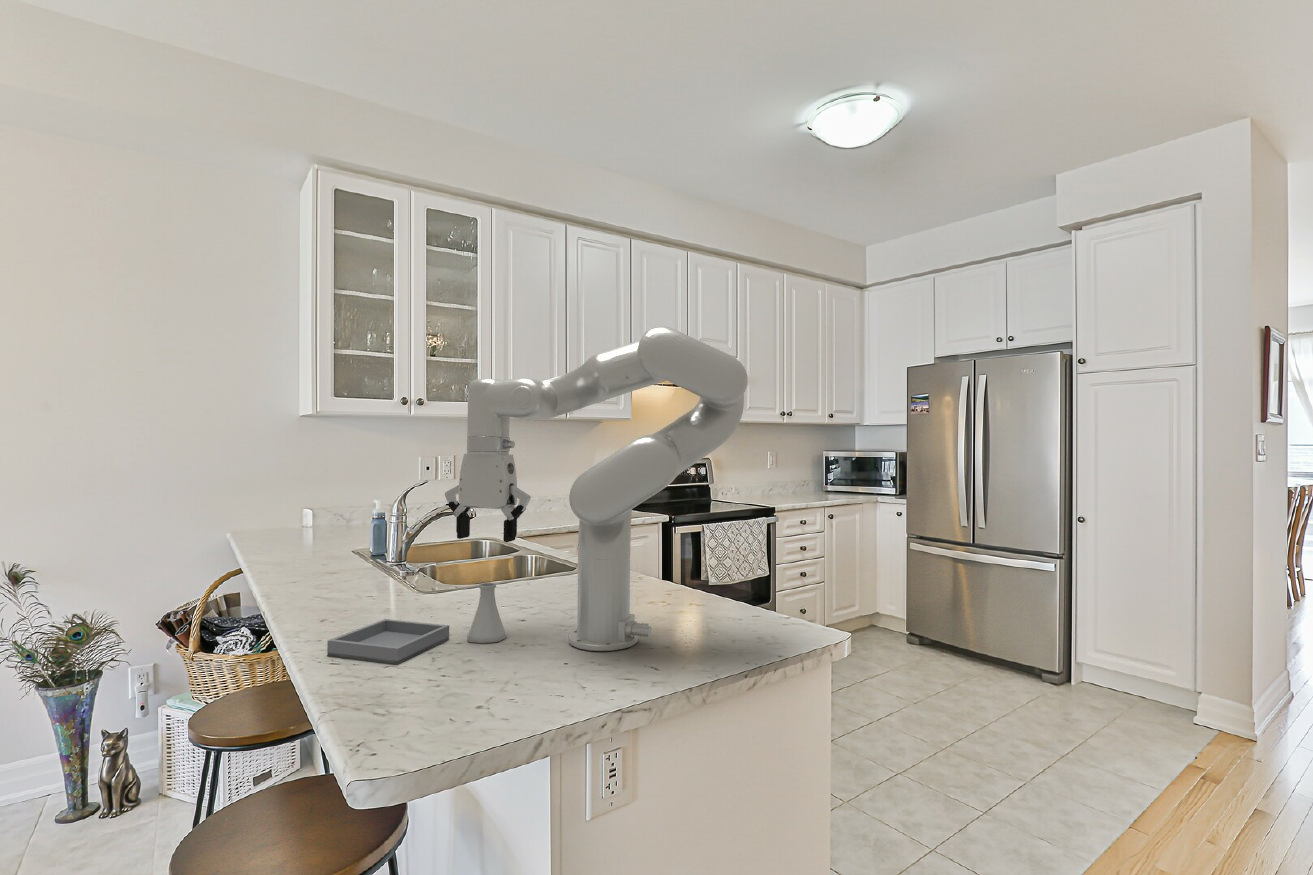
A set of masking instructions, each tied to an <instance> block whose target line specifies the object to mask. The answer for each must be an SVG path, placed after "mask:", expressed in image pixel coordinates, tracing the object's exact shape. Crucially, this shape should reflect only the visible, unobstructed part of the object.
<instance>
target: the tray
mask: <svg viewBox="0 0 1313 875" xmlns="http://www.w3.org/2000/svg"><path fill="white" fill-rule="evenodd" d="M447 641H450V625H448V624H437V623H428V622H421V621H419V622H418V621H409V620H401V619H389V618H383V619H381V620H378V621H376V622H373V623H371V624H368V625H366V626H363V627H360V628H357V629H355V630H352V631H350V632H347V633H345V634H341V635H338V636H336V637H334V638H331V639H328V640H327V642H326V643H327V644H326V645H327V652H326V653H327V655H326V656H327V657H332V658H340V659H348V660H349V659H350V660H356V661H357V660H358V661H365V662H371V663H378V664H379V663H381V664H389V665H396V666H398V665H400V664H402V663H405V662H406V661H408V660H410V659H412V658H415V657H416V656H418V655H420V654H423V653H425V652H427V651H429V650H431V649H433V648H435V647H437V646H439V645H441V644H444V643H445V642H447Z"/></svg>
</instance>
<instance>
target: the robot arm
mask: <svg viewBox="0 0 1313 875" xmlns="http://www.w3.org/2000/svg"><path fill="white" fill-rule="evenodd" d="M748 379H749V378H748V373H747V370H746V368H745V366H744V365H743V364H742V362H740V361H739V359H737V358H736V357H734V356H733V355H731V354H728V353H727V352H724V351H722V350H720V349H718V348H716V347H714V346H711V345H709V344H708V343H707V344H706V343H705V342H703V341H700V340H698V339H696V338H694V337H692V336H689V335H687V334H685V333H683V332H681V331H679V330H678V329H675V328H672V327H668V326H658V327H653V328H651V329H649V330H648V331H646V332H645V333H644V334H643V335H642V336H641V337H640V339H638V340H636V341H635V340H634V341H633V342H630V343H626V344H623V345H620V346H617V347H613V348H610V349H607V350H603V351H601V352H597V353H595V354H593V355H592V356H590V357H588V359H587V360H586V361H585V362H583V364H581V365H580V366H579V367H577V368H575V369H573V370H571V371H569V372H566V373H564V374H561V375H558V376H555V377H552V378H548V379H545V380H537V379H534V378H530V377H519V378H512V379H503V380H501V379H494V378H478V379H477V378H476V379H474V380H471V381H470V383H469V384H468V388H467V419H466V420H467V424H466V426H467V427H466V428H467V429H466V431H467V432H466V453H464V454H463V456H462V461H461V466H460V471H459V481H458V485H456V486H454V487H453V488H450V489H449V490H447V491H445V493H444V497H445V499H446V502H447V503H448V504H447V505H448V508H449V509H450V510H451V512H453V516H454V517H455V518H456V519H455V520H456V525H455V529H456V539H458V540H459V539H460V540H461V539H465V538H469V537H470V535H471V534H470V532H471V531H470V530H471V517H470V515H468V514H469V513H470V511H471V510H472V508H473V509H474V508H475V509H490V510H501V512H502V514H503V515H504V516H505V517H506V519H504V521H503V536H502V537H503V539H502V540H503V542H504V543H509V542H513V541H515V540H516V538H517V534H518V533H517V532H518V519H520V518H521V515H522V514H523V513H524V512H525V511H526V510H527V506H528V505H529V503H530V501H531V498H532V496H531V495H530V494H528V493H527V492H525V491H523V490H522V489H520V488H519V487H518V480H517V470H516V469H517V468H516V464H515V458H514V455H513V454H510V449H514V448H515V445H516V443H515V441H514V440H510V439H511V437H510V420H511V419H510V418H514V419H520V420H525V421H527V420H528V421H535V422H541V421H546V420H549V419H552V418H557V417H559V416H562V415H565V414H569V413H571V412H575V411H578V410H582V409H583V408H587V407H589V406H591V405H596V404H600V403H602V402H605V401H607V400H610V399H613V398H615V397H619V396H622V395H625V394H627V393H628V394H629V393H631V392H634V391H639V390H640V389H644V388H648V387H651V386H653V385H654V386H655V385H657V384H660V383H665V382H669V383H671V384H673V385H675V386H677V387H678V388H679V387H680V388H681V389H682V390H686V391H688V392H690V393H692V394H694V395H696V396H698V397H699V400H698V402H697V403H696V405H695V406H694V407H693V408H691V409H690V410H689V411H687V412H686V413H684V414H683V415H681V416H679V417H678V418H677V419H675V420H673V422H671V423H669V424H667V425H666V426H665V427H663V428H661V429H660V430H658V431H656V432H654V433H653V434H646V435H642V436H640V437H638V438H636V439H634V440H633V441H631V442H629V443H628V444H626V445H624V446H623V447H621V448H620V449H618V450H617V451H615V452H614V453H612V454H610V455H609V456H608V457H606V458H604V459H602V460H600V462H598V463H596V464H595V465H593V466H591V467H590V468H588V469H587V470H585V471H584V472H582V473H581V474H579V475H578V476H577V478H575V480H574V481H573V483H572V485H571V488H570V491H569V494H568V495H569V496H568V500H569V506H570V509H571V511H572V512H573V514H574V515H575V517H577V519H578V520H579V521H578V534H577V535H578V536H577V538H578V539H577V540H578V541H577V605H576V606H577V608H576V609H577V616H576V617H577V619H576V620H577V621H576V622H577V623H576V624H577V626H576V629H574V630H573V631H571V632H570V633H569V634H568V643H569V644H570V645H571V646H572V647H575V648H577V649H580V650H585V651H590V652H591V651H592V652H593V651H595V652H609V651H611V652H612V651H619V650H623V649H627V648H630V647H633V646H635V645H636V643H638V641H639V637H642V638H651V635H652V626H651V625H650V624H649V623H647V622H646V623H645V622H637V620H635V619H636V618H635V614H634V613H630V610H631V608H630V605H631V603H630V602H631V601H630V599H631V598H630V597H631V590H630V589H631V538H632V536H631V534H632V531H631V530H632V510H633V509H634V508H636V507H638V506H639V505H641V504H642V503H644V502H645V501H647V500H648V499H650V498H652V497H653V496H655V495H656V494H658V493H660V492H661V491H662V490H664V489H666V488H667V487H668V486H670V484H672V483H673V482H674V480H675V479H677V477H678V476H679V475H680V474H681V473H683V472H684V471H686V470H687V469H689V468H690V467H692V466H693V465H696V463H698V462H699V461H701V460H702V459H705V457H706V456H708V455H710V454H711V453H712V452H714V451H716V450H717V449H718V448H720V447H722V445H723V444H724V443H726V442H727V441H728V440H729V439H730V438H731V436H732V435H733V434H734V432H735V431H736V429H737V428H738V426H739V424H740V422H741V419H742V417H743V414H744V406H745V392H746V390H747V386H748V382H749V380H748ZM457 495H458V500H457ZM518 500H519V502H518ZM517 504H518V505H517Z"/></svg>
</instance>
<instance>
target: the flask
mask: <svg viewBox="0 0 1313 875" xmlns="http://www.w3.org/2000/svg"><path fill="white" fill-rule="evenodd" d="M478 588H479V589H480V595H479V601H478V606H477V608H476V612H475V615H474V618H473V621H472V623H471V625H470V628H469V631H468V634H467V642H471V643H477V644H478V643H479V644H488V643H496V642H498V643H499V642H500V641H503V640H504V639H507V633H506V631H505V627H504V625H503V622H502V619H501V616H500V613H499V609H498V606H497V602H496V596H495V595H496V594H495V592H496V591H495V590H496V588H497V583H496V582H481V583H479V584H478Z"/></svg>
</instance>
